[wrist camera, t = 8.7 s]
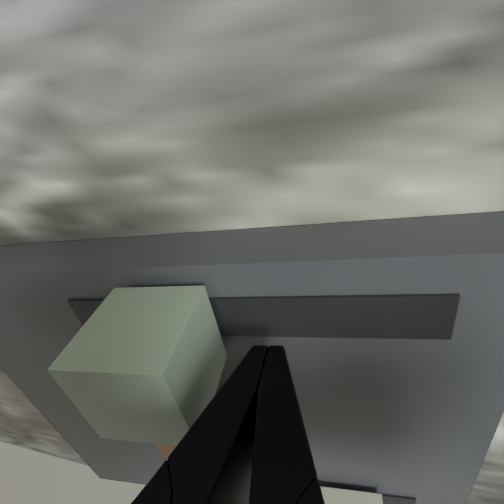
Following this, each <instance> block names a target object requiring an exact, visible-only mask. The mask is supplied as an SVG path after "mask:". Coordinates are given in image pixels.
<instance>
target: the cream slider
mask: <svg viewBox="0 0 504 504" xmlns="http://www.w3.org/2000/svg"><path fill="white" fill-rule="evenodd" d="M320 487H321V486H320ZM321 491H322V495H323V499H324V502H325V504H383V500H382V494H378V493H370V492H361V491H353V490H345V489H337V488H329V487H321Z"/></svg>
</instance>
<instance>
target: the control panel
mask: <svg viewBox="0 0 504 504" xmlns="http://www.w3.org/2000/svg"><path fill="white" fill-rule="evenodd" d="M165 286H205V288H206V291H207V294H208V298H209V301H210V304H211V307H212V310H213V313H214V316H215V319H216V323H217V326H218V329H219V332H220V335H221V338H222V341H223V344H224V347H225V351H226V354H227V357H226V360H225V363H224V367H223V370H222V374H221V377H220V380H219V384H218V387H217V390H216V393H217V392H218V391H219V389H220V388H221V387H222V385H223V384H224V383H225V381H226V380H227V379H228V378H229V376H230V375H231V374H232V372H233V371H234V370H235V368H236V367H237V366H238V364H239V363H240V362H241V360H242V359H243V358H244V357H245V355H246V354H247V353H248V351H249V350H250V349H251V347H252V346H254V345H267V346H268V347H269V346H271V345H280V346H283V347H284V349H285V352H286V356H287V360H288V364H289V368H290V372H291V376H292V379H293V383H294V387H295V391H296V395H297V399H298V403H299V407H300V410H301V414H302V418H303V422H304V426H305V430H306V434H307V437H308V441H309V445H310V449H311V453H312V457H313V461H314V465H315V468H316V472H317V477H318V480H319V483H320V486H321V487H329V488H337V489H345V490H353V491H361V492H370V493H378V494H382V500H383V504H466V502H467V500H468V497H469V495H470V492H471V490H472V487H473V485H474V483H475V480H476V478H477V475H478V473H479V470H480V468H481V465H482V463H483V461H484V458H485V456H486V453H487V451H488V448H489V446H490V443H491V441H492V439H493V436H494V434H495V431H496V429H497V426H498V424H499V421H500V419H501V416H502V414H503V412H504V211H503V212H488V213H474V214H459V215H444V216H429V217H415V218H400V219H385V220H371V221H356V222H341V223H326V224H312V225H297V226H282V227H268V228H253V229H238V230H224V231H209V232H194V233H179V234H165V235H150V236H135V237H121V238H106V239H91V240H76V241H62V242H47V243H32V244H18V245H3V246H0V367H1V368H2V369H3V371H4V372H5V373H6V374H7V375H8V376H9V377H10V378H11V380H12V381H13V382H14V383H15V384H16V385H17V386H18V387H19V388H20V390H21V391H22V392H23V393H24V394H25V395H26V396H27V397H28V398H29V400H30V401H31V402H32V403H33V404H34V405H35V406H36V407H37V408H38V410H39V411H40V412H41V413H42V414H43V415H44V416H45V417H46V419H47V420H48V421H49V422H50V423H51V424H52V425H53V426H54V427H55V429H56V430H57V431H58V432H59V433H60V434H61V435H62V436H63V437H64V439H65V440H66V441H67V442H68V443H69V444H70V445H71V446H72V447H73V449H74V450H75V451H76V452H77V453H78V454H79V455H80V456H81V458H82V459H83V460H84V461H85V462H86V463H87V464H88V465H89V466H90V467H91V468H92V470H93V471H94V472H95V473H96V474H97V475H98V476H99V477H100V478H103V479H110V480H116V481H124V482H131V483H138V484H145V485H147V483H148V482H149V481H150V480H151V478H152V477H153V476H154V475H155V473H156V472H157V471H158V469H159V468H160V467H161V465H162V464H163V463H164V461H165V460H166V459H165V457H164V456H163V454H162V452H161V451H160V449H159V448H158V446H157V444H151V443H142V442H132V441H123V440H114V439H104V438H100V437H99V435H98V434H97V433H96V432H95V430H94V429H93V428H92V427H91V425H90V424H89V423H88V421H87V420H86V419H85V418H84V416H83V415H82V414H81V413H80V411H79V410H78V409H77V407H76V406H75V405H74V404H73V402H72V401H71V400H70V399H69V397H68V396H67V395H66V394H65V392H64V391H63V390H62V388H61V387H60V386H59V385H58V383H57V382H56V381H55V380H54V378H53V377H52V376H51V374H50V373H49V372H48V371H47V369H48V368H49V367H50V366H51V364H52V363H53V362H54V361H55V359H56V358H57V357H58V356H59V355H60V353H61V352H62V351H63V350H64V348H65V347H66V346H67V345H68V344H69V342H70V341H71V340H72V339H73V337H74V336H75V335H76V334H77V333H78V331H79V330H80V329H81V328H82V326H83V325H84V324H85V323H86V322H87V320H88V319H89V318H90V317H91V315H92V314H93V313H94V312H95V311H96V309H97V308H98V307H99V306H100V305H101V303H102V302H103V301H104V300H105V298H106V297H107V296H108V295H109V294H110V292H111V291H112V290H113V289H114V288H125V287H165ZM215 395H216V394H215Z"/></svg>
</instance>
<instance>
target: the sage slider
mask: <svg viewBox="0 0 504 504" xmlns="http://www.w3.org/2000/svg"><path fill="white" fill-rule="evenodd" d="M226 357H227V354H226V351H225V347H224V344H223V341H222V338H221V335H220V332H219V329H218V326H217V323H216V319H215V316H214V313H213V310H212V307H211V304H210V301H209V298H208V294H207V291H206V288H205V286H165V287H125V288H114V289H113V290H112V291H111V292H110V294H109V295H108V296H107V297H106V298H105V300H104V301H103V302H102V303H101V305H100V306H99V307H98V308H97V309H96V311H95V312H94V313H93V314H92V315H91V317H90V318H89V319H88V320H87V322H86V323H85V324H84V325H83V326H82V328H81V329H80V330H79V331H78V333H77V334H76V335H75V336H74V337H73V339H72V340H71V341H70V342H69V344H68V345H67V346H66V347H65V348H64V350H63V351H62V352H61V353H60V355H59V356H58V357H57V358H56V359H55V361H54V362H53V363H52V364H51V366H50V367H49V368H48V369H47V371H48V372H49V373H50V374H51V376H52V377H53V378H54V380H55V381H56V382H57V383H58V385H59V386H60V387H61V388H62V390H63V391H64V392H65V394H66V395H67V396H68V397H69V399H70V400H71V401H72V402H73V404H74V405H75V406H76V407H77V409H78V410H79V411H80V413H81V414H82V415H83V416H84V418H85V419H86V420H87V421H88V423H89V424H90V425H91V427H92V428H93V429H94V430H95V432H96V433H97V434H98V435H99V437H100V438H104V439H114V440H123V441H132V442H142V443H151V444H160V445H170V446H177V445H178V443H179V442H180V441H181V439H182V438H183V437H184V435H185V434H186V433H187V431H188V430H189V429H190V427H191V426H192V425H193V424H194V422H195V421H196V420H197V418H198V417H199V416H200V414H201V413H202V412H203V410H204V409H205V408H206V406H207V405H208V404H209V403H210V401H211V400H212V399H213V397H214V396H215V394H216V390H217V387H218V384H219V380H220V377H221V374H222V370H223V367H224V363H225V360H226Z"/></svg>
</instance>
